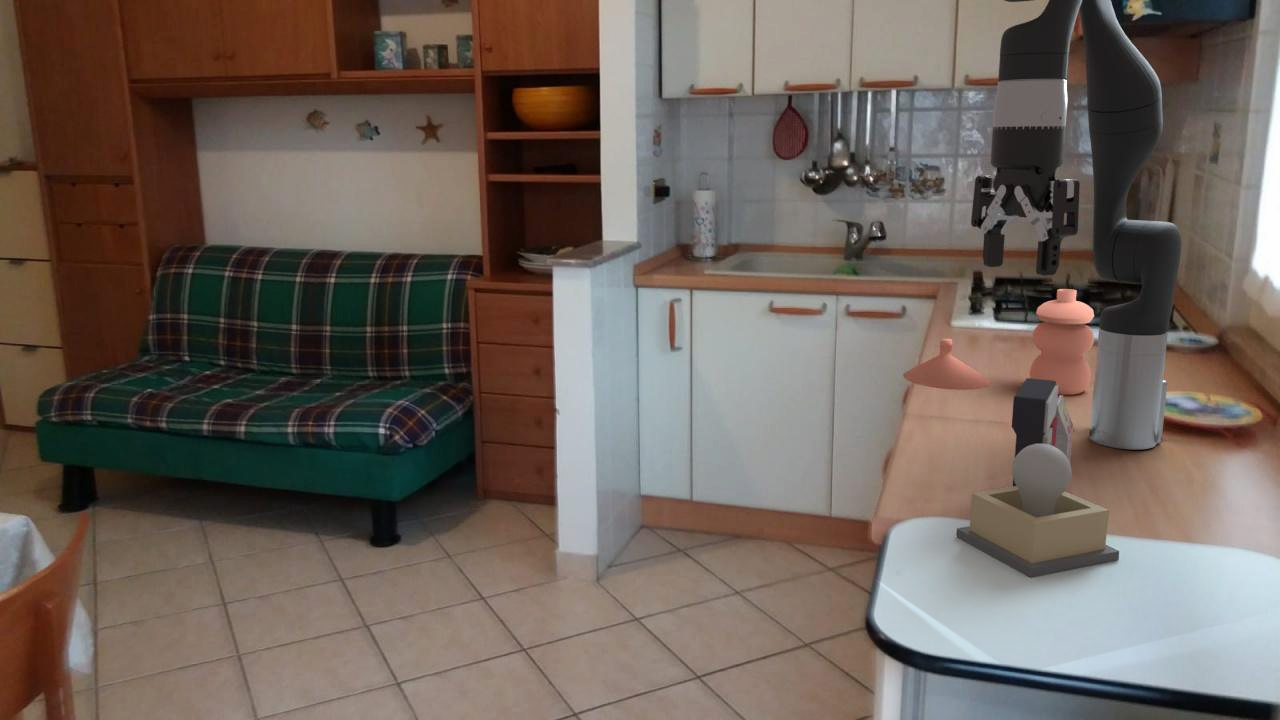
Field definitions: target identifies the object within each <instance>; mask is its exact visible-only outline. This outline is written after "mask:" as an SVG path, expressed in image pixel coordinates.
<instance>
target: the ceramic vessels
mask: <svg viewBox="0 0 1280 720" xmlns="http://www.w3.org/2000/svg"><path fill="white" fill-rule="evenodd" d="M1056 291H1057V292H1056V299H1053V300H1048V301H1046V302H1043V303H1042V304H1041V305H1039V306H1038V307H1037V309H1036V315H1037V317H1038V319H1039V320H1040V321H1042V322H1041V323H1039V324H1037V326H1036V327H1035V328H1034V330H1033V332H1032V342H1033V344H1034V346H1035V347H1036V348H1037V349H1038V350H1039V351H1040V352H1041V353H1040V354H1038V355H1037V356H1036V357H1035V358H1034V360H1033V362H1032V363H1031V365H1030V369H1029V378H1031V379H1041V380H1052V381H1056V385H1058V395H1061V396H1062V395H1063V396H1067V395H1068V396H1069V395H1070V396H1073V395H1079V394H1081V393H1083V392H1084V391H1085V390H1086V389H1087V388H1088V387H1089V384H1090V382H1091V378H1092V375H1091V373H1092V371H1091V367H1090V365H1089V363H1088V361H1087V359H1086V358H1084V355H1083V354H1085V353H1087V352H1089V350H1090V349H1091V348H1092V346H1093V345H1094V342H1095V334H1094V331H1093V330H1092V329H1091V327H1090V326H1088V325H1086V324H1088V323H1091V322H1092V320H1093V319H1094V317H1095V313H1094V309H1093V308H1092V307H1090V305H1088V304H1086V303H1084V302H1082V301H1078V300H1077V292H1078V291H1077V290H1076V289H1071V288H1070V289H1068V288H1059V289H1057V290H1056ZM939 341H940V343H939V354H938V355H937V356H935V357H933V358H932V357H931V359H929V360H927V361H924V362H923V363H921V364H919V365H916V366H915V367H913V368H911V369H909V370H907V371H905V372H904V373H903V374H902V377H903V378H904V379H905V380H907V381H909V382H911V383H914V384H917V385H921V386H924V387H929V388H935V389H943V390H952V391H953V390H956V391H966V390H970V391H971V390H978V389H979V390H980V389H985V388H987V387H989V386H990V385H991V381H990V379H988V378H987V377H986V376H984V375H982V374H980V373H979V372H978V371H975V370H974V369H973V368H971V367H970V366H969V365H967V364H966V363H963V362H962V361H961V360H959V359H958V358H956V357H954V355H952V349H953V339H951V338H940V340H939Z"/></svg>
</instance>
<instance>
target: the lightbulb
mask: <svg viewBox="0 0 1280 720" xmlns="http://www.w3.org/2000/svg"><path fill="white" fill-rule="evenodd" d="M1011 474H1012V480H1013V479H1014V482H1015V484H1016V486H1017V488H1018V490H1019V492H1020V495H1021V498H1022V502H1023V512H1025V513H1027V514H1030V515H1032V516H1034V517H1036V518H1037V517H1043V516H1048V515H1053V514H1054V509H1055V506H1056V503H1057V501H1058V499H1059V497H1060V496H1061V495H1062V493H1063V492H1064V491H1065V492H1066V489H1067V488H1068V486H1069V485H1070V482H1071V479H1072V467H1071V461H1070V462H1069V460H1068V458H1067V457H1066V456H1065V454H1064V453H1063V452H1062V451H1060V450H1059V449H1058V448H1056V447H1054V446H1052V445H1048V444H1033V445H1030V446H1027V447H1025V448H1024V449H1022V450H1021V451H1020V452H1019V453H1018V454H1017V456H1016V457H1015V456H1014V460H1013V462H1012V465H1011Z"/></svg>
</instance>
